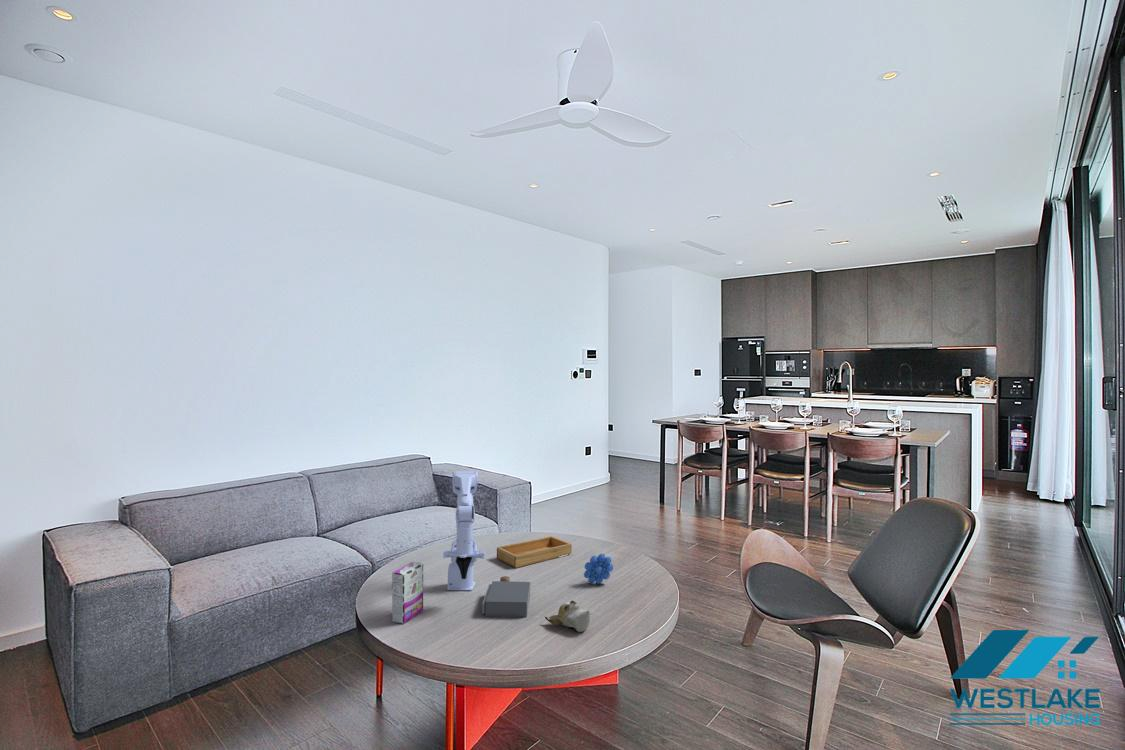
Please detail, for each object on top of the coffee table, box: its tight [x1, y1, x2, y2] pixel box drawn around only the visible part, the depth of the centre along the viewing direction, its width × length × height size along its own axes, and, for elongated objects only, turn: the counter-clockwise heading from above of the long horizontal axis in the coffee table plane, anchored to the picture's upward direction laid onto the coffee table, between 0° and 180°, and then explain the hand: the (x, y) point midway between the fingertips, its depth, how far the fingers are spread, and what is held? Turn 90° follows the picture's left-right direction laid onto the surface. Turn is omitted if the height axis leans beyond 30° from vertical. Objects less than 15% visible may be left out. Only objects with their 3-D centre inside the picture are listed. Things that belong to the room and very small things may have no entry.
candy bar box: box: [391, 561, 424, 625], centre depth 183 cm, size 11×5×16 cm, turn 160°
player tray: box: [481, 583, 492, 615], centre depth 193 cm, size 13×17×3 cm
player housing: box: [484, 580, 531, 618], centre depth 193 cm, size 14×18×5 cm
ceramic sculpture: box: [544, 600, 591, 633], centre depth 178 cm, size 11×9×15 cm
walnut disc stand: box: [499, 575, 511, 582], centre depth 208 cm, size 6×6×4 cm
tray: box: [496, 535, 573, 569], centre depth 245 cm, size 31×15×6 cm, turn 129°
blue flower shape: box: [583, 553, 614, 585], centre depth 215 cm, size 12×7×12 cm, turn 94°
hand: (464, 578), depth 193 cm, fingers closed
